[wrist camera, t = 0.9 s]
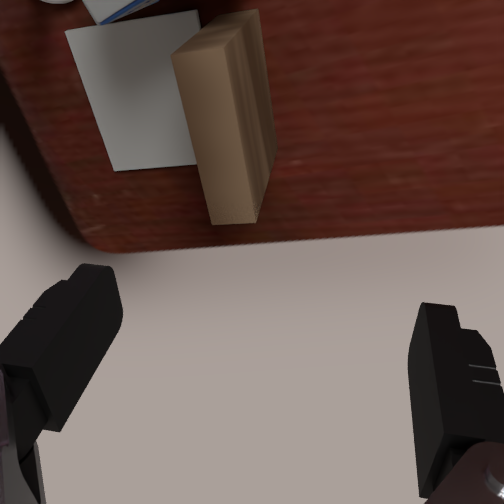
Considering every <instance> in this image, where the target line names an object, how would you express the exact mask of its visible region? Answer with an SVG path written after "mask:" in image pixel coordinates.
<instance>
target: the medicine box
mask: <svg viewBox="0 0 504 504" xmlns="http://www.w3.org/2000/svg"><path fill="white" fill-rule="evenodd" d="M82 1H83V3H84V4H85V6H86V8H87V9H88V11H89V13H90V14H91V16H92V18H93V19H94V21H95V23H96V24H97V25H99V26H101V25H104V24H107V23H110V22H112V21H114V20H116V19H119V18H121V17H124V16H126V15H128V14H131V13H133V12H135V11H138V10H140V9H142V8H144V7H146V6H149V5H152V4H154V3H156V2H158V1H159V0H82Z"/></svg>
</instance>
